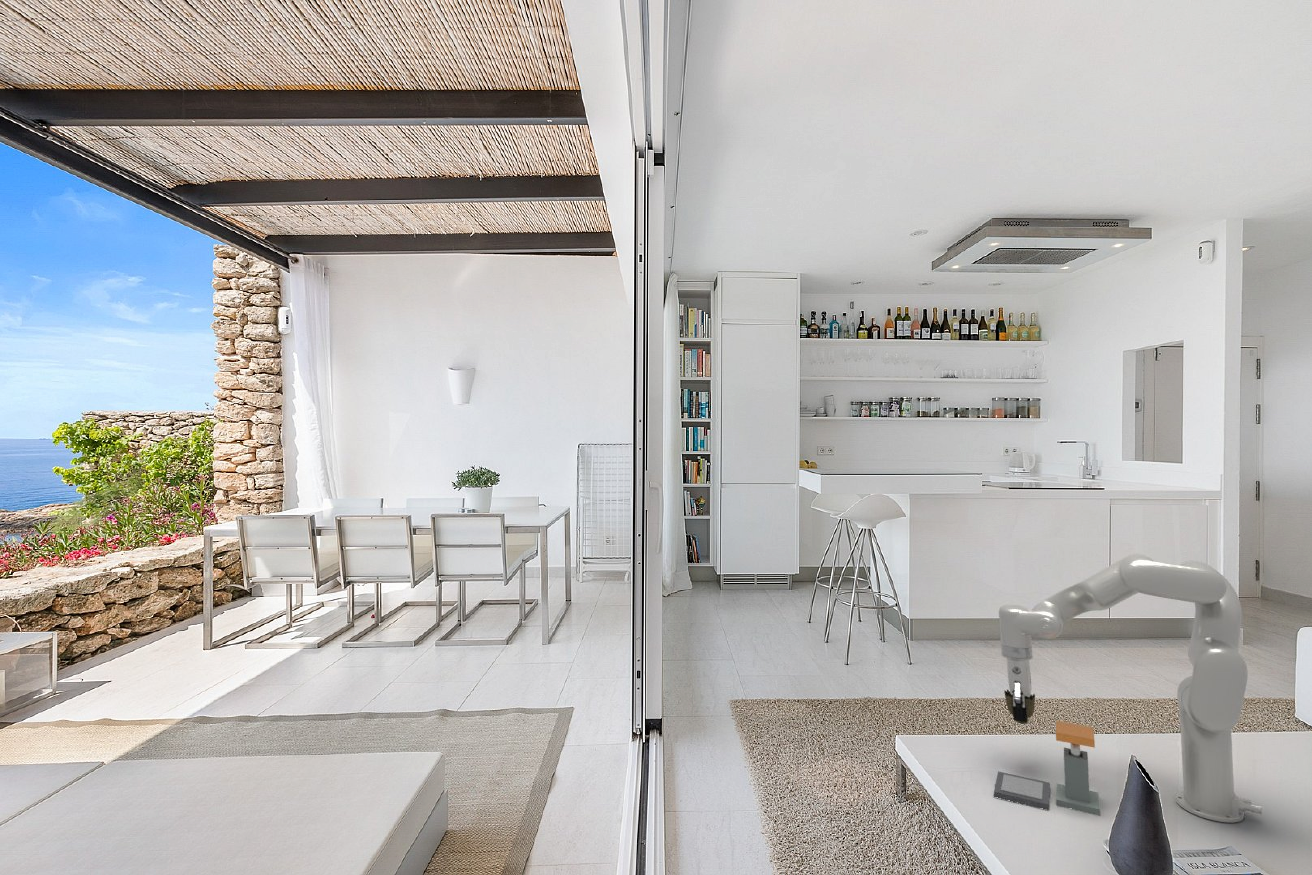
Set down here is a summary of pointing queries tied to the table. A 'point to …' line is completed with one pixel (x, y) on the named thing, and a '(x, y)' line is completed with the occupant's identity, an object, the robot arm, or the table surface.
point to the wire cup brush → (1028, 704)
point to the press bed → (1022, 790)
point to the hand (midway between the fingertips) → (1021, 715)
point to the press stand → (1077, 785)
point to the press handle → (1075, 736)
